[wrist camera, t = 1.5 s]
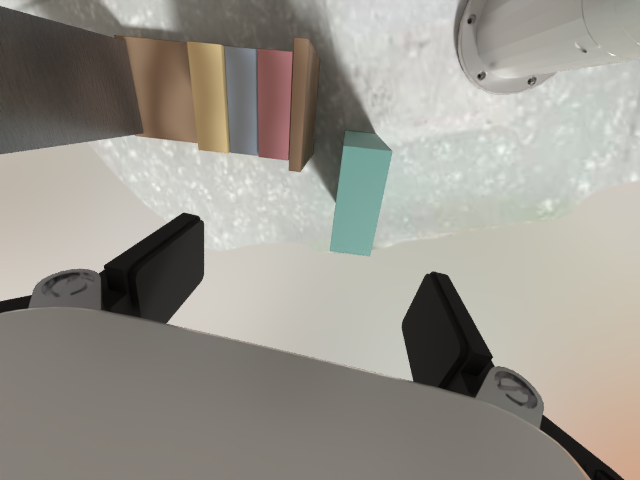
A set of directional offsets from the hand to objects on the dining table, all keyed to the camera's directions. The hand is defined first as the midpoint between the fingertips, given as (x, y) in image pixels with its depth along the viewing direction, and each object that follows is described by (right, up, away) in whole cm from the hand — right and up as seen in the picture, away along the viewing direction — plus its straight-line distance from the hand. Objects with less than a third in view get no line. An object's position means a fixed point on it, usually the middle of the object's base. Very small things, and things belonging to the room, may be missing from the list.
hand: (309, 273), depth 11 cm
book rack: (-12, +19, +23) cm, 33 cm away
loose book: (+5, +11, +26) cm, 29 cm away
